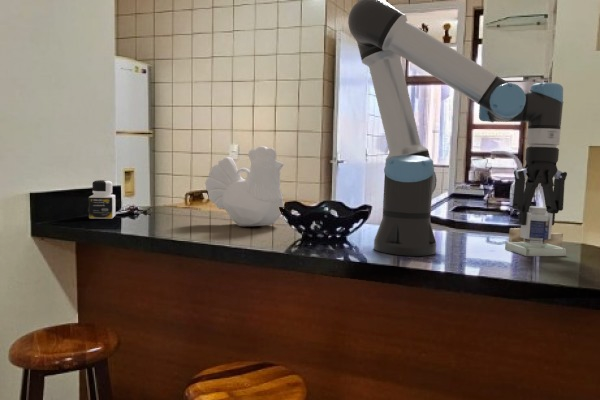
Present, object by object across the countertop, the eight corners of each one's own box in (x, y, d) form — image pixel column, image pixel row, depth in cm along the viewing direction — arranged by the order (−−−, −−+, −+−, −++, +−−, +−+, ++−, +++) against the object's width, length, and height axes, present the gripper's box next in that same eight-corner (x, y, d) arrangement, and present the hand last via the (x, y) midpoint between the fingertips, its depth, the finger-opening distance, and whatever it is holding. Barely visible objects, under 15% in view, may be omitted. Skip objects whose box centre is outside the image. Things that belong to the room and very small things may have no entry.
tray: (525, 256, 129) (526, 248, 129) (504, 249, 138) (505, 242, 137) (565, 255, 131) (566, 248, 131) (542, 248, 140) (543, 242, 140)
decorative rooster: (291, 226, 166) (294, 147, 164) (266, 232, 152) (269, 145, 150) (226, 218, 178) (228, 145, 175) (197, 224, 163) (198, 143, 161)
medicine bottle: (88, 218, 167) (88, 180, 166) (92, 215, 174) (92, 179, 173) (112, 218, 168) (112, 181, 167) (115, 216, 175) (115, 180, 174)
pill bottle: (548, 247, 131) (552, 208, 130) (526, 246, 132) (529, 207, 131) (543, 243, 136) (546, 206, 135) (521, 242, 137) (524, 205, 136)
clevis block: (528, 248, 140) (529, 233, 140) (508, 242, 149) (509, 228, 149) (561, 248, 142) (563, 233, 142) (540, 242, 151) (541, 228, 150)
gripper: (518, 145, 126) (511, 240, 129) (585, 147, 130) (577, 240, 132) (500, 145, 134) (494, 235, 136) (564, 147, 137) (557, 235, 139)
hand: (535, 237), depth 134 cm, fingers closed on pill bottle, 5 cm apart
